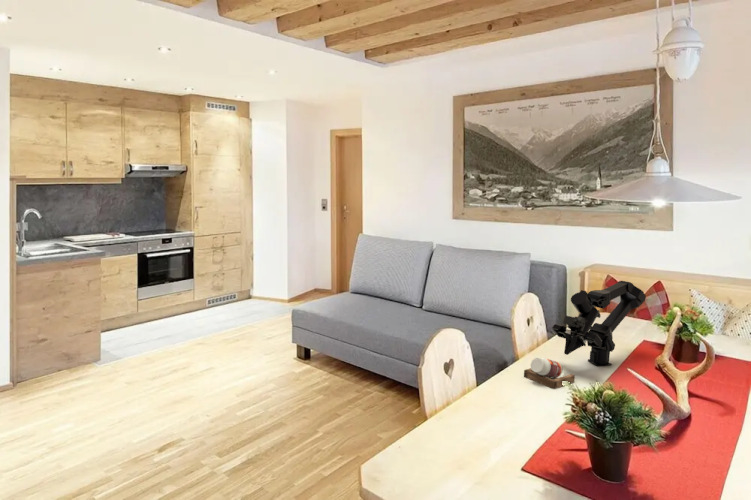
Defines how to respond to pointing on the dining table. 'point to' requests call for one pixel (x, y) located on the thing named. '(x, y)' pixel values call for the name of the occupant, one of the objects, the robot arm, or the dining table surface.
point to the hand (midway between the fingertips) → (565, 353)
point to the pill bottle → (546, 367)
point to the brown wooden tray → (548, 379)
